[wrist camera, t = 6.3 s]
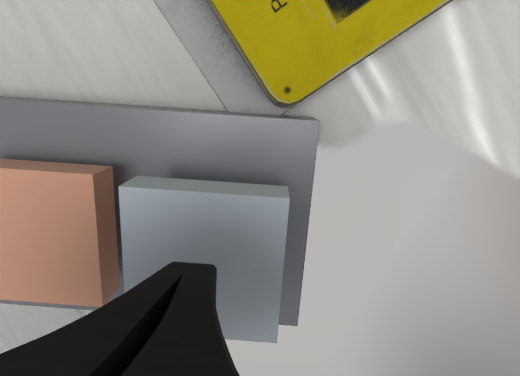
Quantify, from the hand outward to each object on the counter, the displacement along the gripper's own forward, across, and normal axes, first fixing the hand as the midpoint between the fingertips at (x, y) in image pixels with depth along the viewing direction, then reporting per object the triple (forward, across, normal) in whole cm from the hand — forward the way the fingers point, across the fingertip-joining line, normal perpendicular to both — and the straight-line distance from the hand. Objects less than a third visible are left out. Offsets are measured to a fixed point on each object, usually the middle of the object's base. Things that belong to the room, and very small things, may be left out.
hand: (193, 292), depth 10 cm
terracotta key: (+7, +7, 0) cm, 10 cm away
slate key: (+6, 0, 0) cm, 6 cm away
